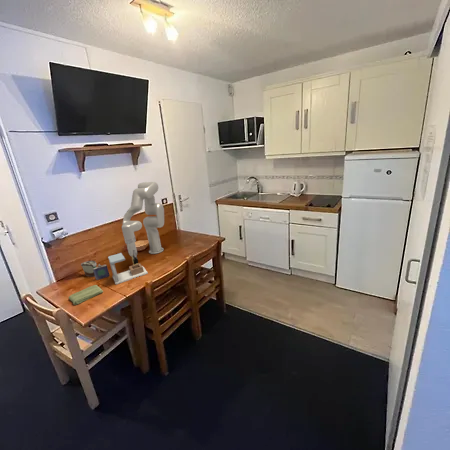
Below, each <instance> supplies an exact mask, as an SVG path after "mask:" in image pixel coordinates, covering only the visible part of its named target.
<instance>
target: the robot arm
mask: <svg viewBox="0 0 450 450" xmlns="http://www.w3.org/2000/svg"><path fill="white" fill-rule="evenodd" d="M158 191H159V184H158V183H157V182H156V181H148V182H147V181H145V182H140V183H138V184H137V188H134V189H133V191H132V195H131V196H132V197H131V203H130V207H129V209H127V210H126V211H125V213H124V216H123V220H122V225H121V231H122V235H123V238H124V242H125V244H126V248H127V251H128V253H127V254H128V255H129V256H130V257H131V256H133V261H132V263H133V262H134V264H137V263H138V264H139V260H138V257H137V255H138V250H137V246H136V241H137V239H136V235H135V232H138V231H140V230H141V229H142V228H143V226H144V229H145V232H146V236H147V240H148V244H149V245H148V246H149V250H148V253H149V254H150V255H157V254H159V253H162V252H164V249H165V248H164V247H162V243H161V238H160V232H159V230H158V228H159V229H160V228H163V227H164V225H165V208H164V205H163V204H162V203H160V202H156V198H155V195H156V194H157V192H158ZM143 205H144V213H145V214H146V215H148V216H146V217H144V218H143V222H141V221H140V220H131V218H132V217H133V216H134V215H135V214H136V213H138V212H140V211H142V210H143ZM151 215H152V216H151ZM153 215H154V216H153Z"/></svg>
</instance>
